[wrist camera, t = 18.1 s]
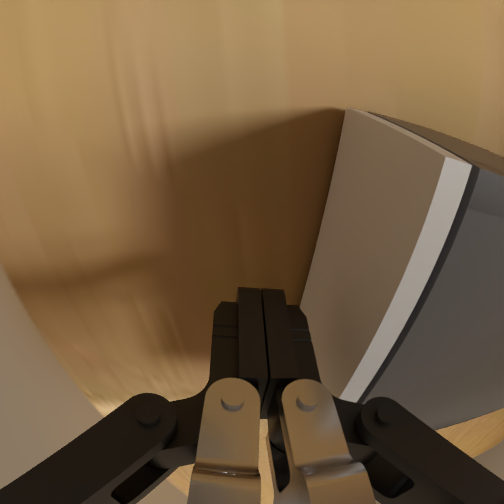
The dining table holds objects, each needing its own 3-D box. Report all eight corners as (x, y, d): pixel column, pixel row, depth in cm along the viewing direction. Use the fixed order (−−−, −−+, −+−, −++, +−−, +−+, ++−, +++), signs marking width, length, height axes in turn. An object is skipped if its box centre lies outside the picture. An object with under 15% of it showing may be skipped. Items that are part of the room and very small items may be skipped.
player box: (548, 179, 12) (622, 237, 7) (472, 334, 19) (511, 404, 14) (368, 111, 11) (480, 168, 5) (305, 342, 18) (325, 449, 12)
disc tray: (543, 177, 12) (618, 234, 6) (464, 339, 19) (501, 408, 13) (346, 107, 11) (445, 156, 5) (287, 347, 18) (303, 451, 12)
